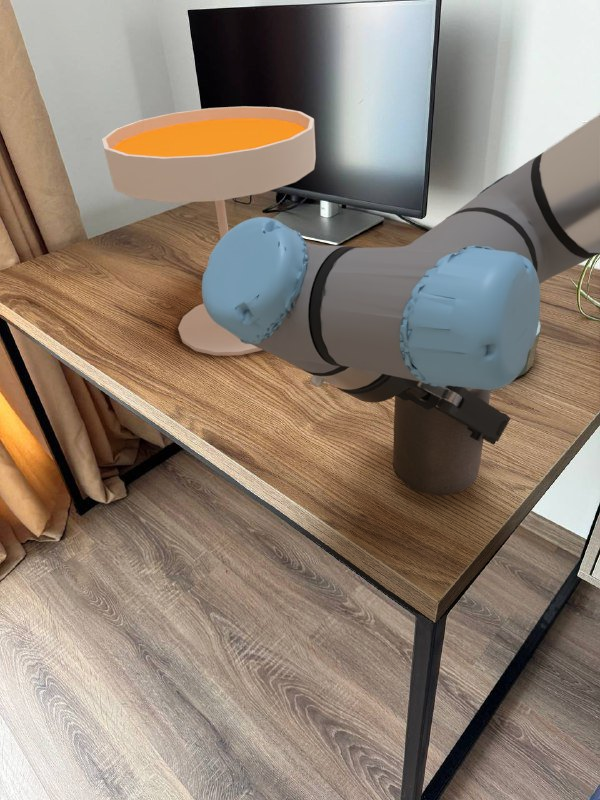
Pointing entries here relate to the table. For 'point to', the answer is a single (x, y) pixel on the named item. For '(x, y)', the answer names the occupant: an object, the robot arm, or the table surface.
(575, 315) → the table surface
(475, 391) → the pillar candle
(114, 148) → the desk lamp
